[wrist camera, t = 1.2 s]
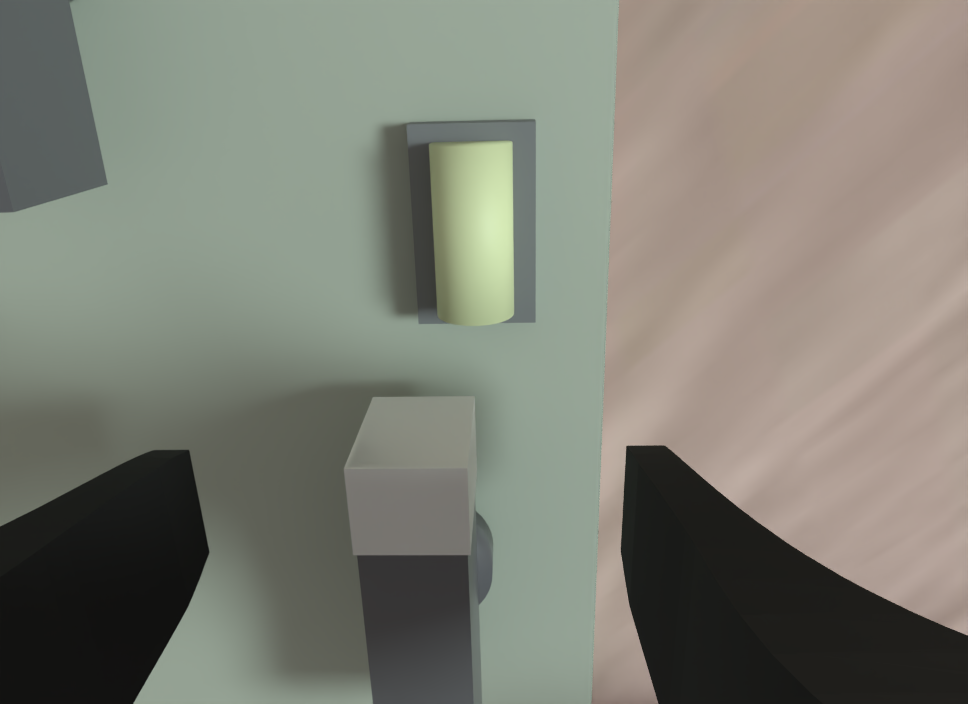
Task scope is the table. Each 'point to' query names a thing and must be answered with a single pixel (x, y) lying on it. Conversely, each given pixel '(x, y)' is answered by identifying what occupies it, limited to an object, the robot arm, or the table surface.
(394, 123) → the base plate
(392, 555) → the knob
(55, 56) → the knob
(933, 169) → the table surface
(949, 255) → the table surface
